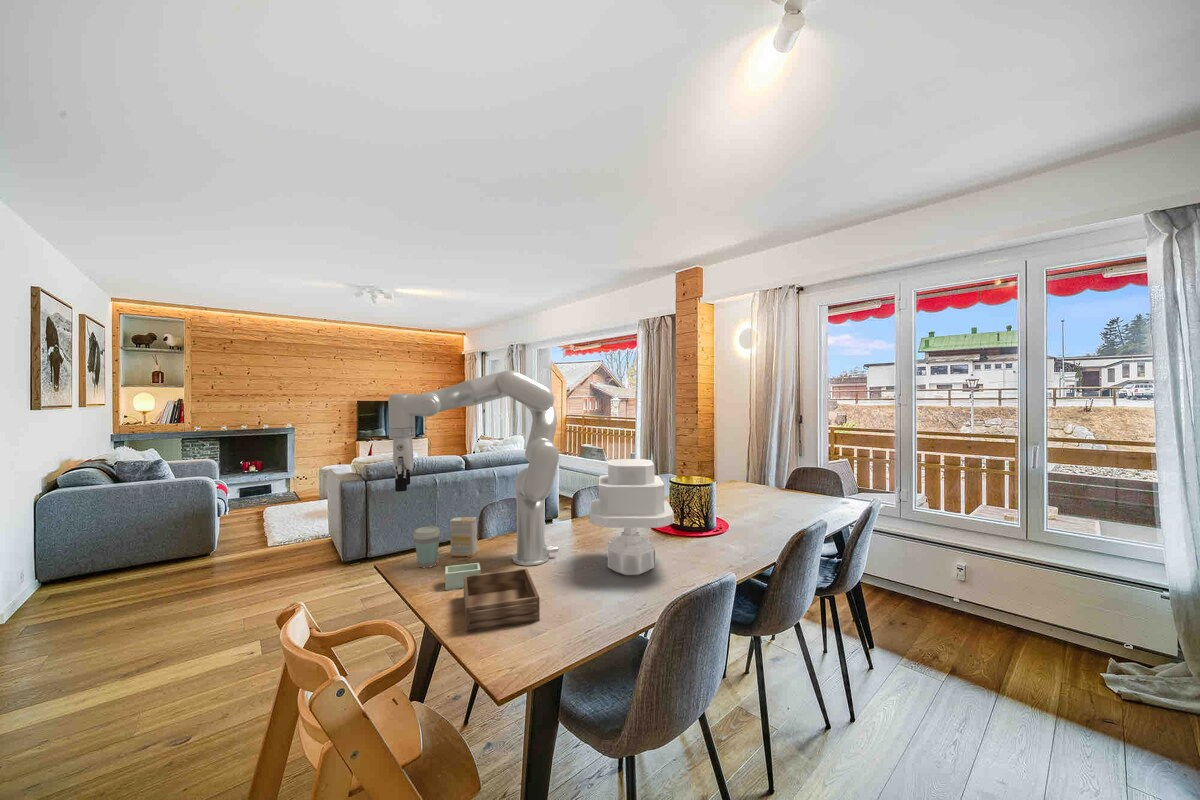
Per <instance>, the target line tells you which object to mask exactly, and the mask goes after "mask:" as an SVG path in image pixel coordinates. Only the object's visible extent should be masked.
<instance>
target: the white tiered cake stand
mask: <svg viewBox="0 0 1200 800" xmlns="http://www.w3.org/2000/svg"><path fill="white" fill-rule="evenodd" d="M655 466H656V465H655V464H654V462H653V461H652V459H646V458H629V459H628V458H615V459H608V461H607V473H608V474H604V475H599V478H598V499H593V500H591V501H590V506H589V507H590V508H589V517H588V518H589V520H588V521H589V523H591V524H592V525H595V526H598V527H601V528H602V527H603V528H608V529H611V528H614V529H616V528H617V529H618V528H619V529H621V528H622V529H623V531H621V532H620V535H619V536H616V537H613V538H612V539H610V542H608V543H607V568H609V569H610V570H612V571H614V572H616V573H618V574H622V575H624V576H640V575H641V574H644V573H646V572H649V571H650V570H651V569H654V567H655V563H656V550H655V548H654V546H653V543H651V541H650V539H649V538H647V537H643V536H641V534H640V533H641V532H639V531H638V530H637V529H638V528H639V529H642V528H643V529H645V528H646V529H647V528H648V529H650V528H651V529H652V528H653V529H659V528H664V527H667V526H669V525H672V524H674V523H675V521H674V520H675V513H674V510H673V509H672V507H671V505H670V503H669V501H667V500H665V483H664V482H663V480H662V479H661V477H660V475H656V474H655Z"/></svg>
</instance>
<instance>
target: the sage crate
mask: <svg viewBox="0 0 1200 800" xmlns="http://www.w3.org/2000/svg"><path fill="white" fill-rule="evenodd" d="M444 568H445V573H444V574H445V575H444V579H445V582H444V583H445V590H448V591H454V590H453V589H456V590H461V589H460V588H463V589H464V576H470V575H478V574H481V565H480V562H472V563H465V564H454V565H447V566H445V567H444Z"/></svg>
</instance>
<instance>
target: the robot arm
mask: <svg viewBox="0 0 1200 800" xmlns="http://www.w3.org/2000/svg"><path fill="white" fill-rule="evenodd" d="M506 397H509V398H511V399H513V400H514V401H517V402H518V403H521V404H523V405H524V406H525V407H526V408H527V409H528V410H529V411H530V413H531V416H532V417H531V418H532V421H531V427H530V432H529V437H528V440H527V444H526V447H525V450H524V455H525V459H526V460H527V461H528V467H526V468H524V469H522V470H520V471H519V473H518V474H517V475H516V478H515V482H514V483H515V484H514V485H515V487H514V488H515V498H516V499H515V500H516V552H515V553H514V554H513V555H512V562H513V563H514V564H516V565H520V566H525V567H528V566H529V567H530V566H537V565H542V564H545V563H546V562H548V561H549V559H550V554H552V553H553V554H555V553H559V547H558V546H554V545H546V541H545V540H546V538H545V534H546V533H545V531H546V530H545V528H546V527H545V514H546V513H545V511H546V510H545V509H546V508H545V499H547V498H548V497H549V495H550V493H551V491H552V488H553V485H554V482H555V477H556V472H557V469H558V468H557V467H558V464H559V459H560V457H559V456H560V455H559V450H558V448H557V446H556V445H555V444H554V440H555V436H556V434H555V433H556V430H557V424H558V418H557V417H558V416H557V411H556V409H555V406H554V403H555V396H554V394H553V392H552V390H551V389H550V388H548V387H547V386H546V385H543V384H542V383H539V382H538V381H535V380H534V379H531V378H530V377H528V376H526V375H524V374H522V373H520V372H518V371H517V370H514V369H509V370H504V371H503V370H502V371H500V372H495V373H492V374H488V375H484V376H480V377H476V378H472V379H469V380H468V379H467V380H465V381H461V382H460V383H457V384H454V385H450V386H447V387H443V388H440V389H435V390H432V391H428V392H423V393H418V394H411V393H393V394H390V395H389V397H388V401H387V402H388V438H389V439H390V440H392V458H393V460H392V461H393V470H394V471H395V478H394V486H395V487H394V489H395V490H394V491H395V492H396V493H397V492H398V493H399V492H407V490H408V486H410V485H411V472H410V471H411V470H412V469H413V467H414V447H413V439H414V438H416V417H426V418H430V417H433V416H435V415H436V414H437V415H438V413H442V412H445V411H449V410H452V409H458V408H463V407H474V406H478V405H481V404H485V403H488V402H489V403H490V402H492V401H496V400H499V399H503V398H506Z"/></svg>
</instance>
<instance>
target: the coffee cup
mask: <svg viewBox="0 0 1200 800" xmlns="http://www.w3.org/2000/svg"><path fill="white" fill-rule="evenodd" d="M440 536H441V530H440V529H439V527H438V526H423V527H419V528H416V529H415V530H414V533H413V539H414V542H415V543H414V545H415V546H414V547H415V551H416V552H415V553H416V560H417V561H416V562H417V567H418V566H419V567H418V568H420V567H430V566H433V567H435V566H436V565H437V564H436V563H438V555H439V544H440ZM435 564H436V565H435ZM434 565H435V566H434ZM430 568H431V567H430Z"/></svg>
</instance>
